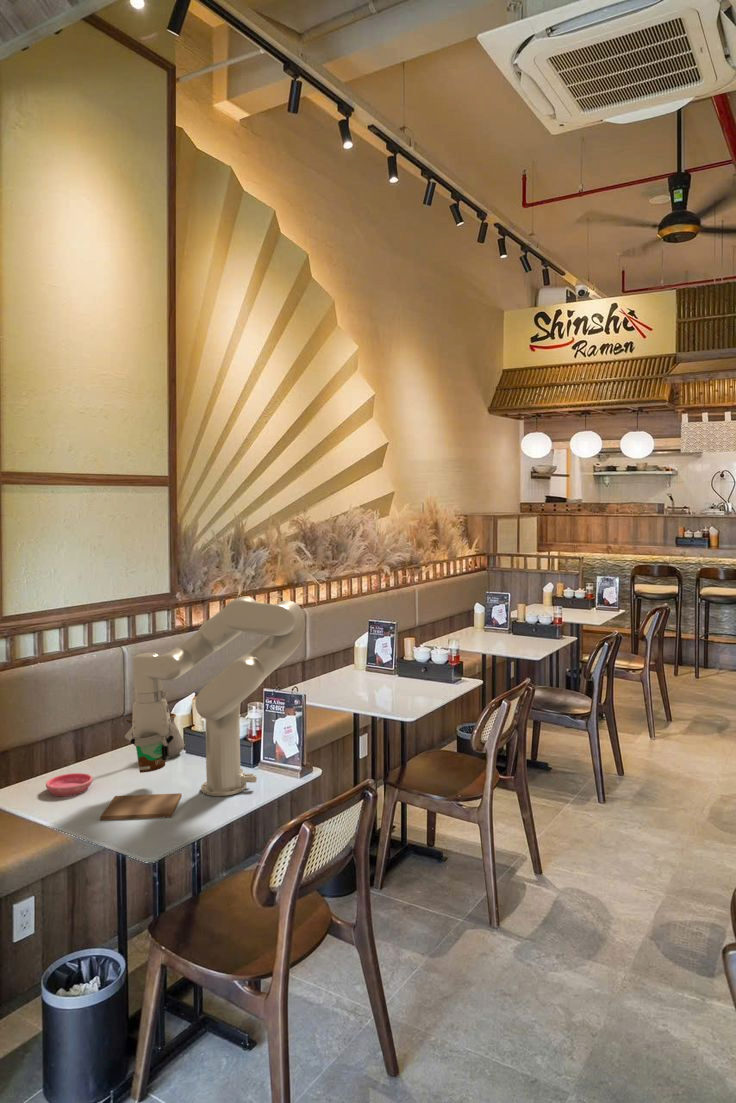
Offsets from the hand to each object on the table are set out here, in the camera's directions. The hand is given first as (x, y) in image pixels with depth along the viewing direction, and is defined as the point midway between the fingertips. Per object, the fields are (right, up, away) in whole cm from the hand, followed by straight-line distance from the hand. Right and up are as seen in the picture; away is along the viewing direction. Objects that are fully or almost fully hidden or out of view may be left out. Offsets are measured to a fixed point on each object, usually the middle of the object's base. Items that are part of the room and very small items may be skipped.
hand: (154, 759), depth 215 cm
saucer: (-24, -9, 0) cm, 26 cm away
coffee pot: (-8, -7, +27) cm, 29 cm away
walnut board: (+1, -9, -14) cm, 17 cm away
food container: (+1, -2, 0) cm, 3 cm away
